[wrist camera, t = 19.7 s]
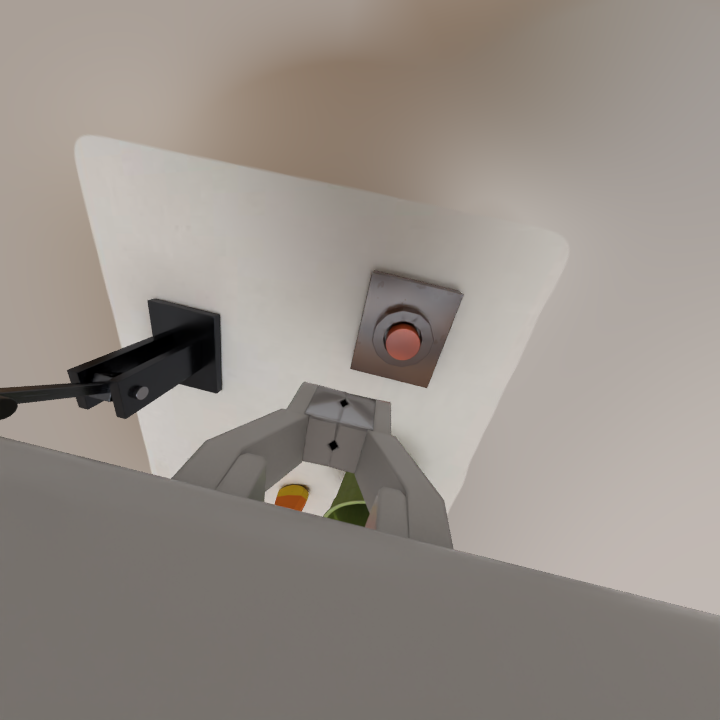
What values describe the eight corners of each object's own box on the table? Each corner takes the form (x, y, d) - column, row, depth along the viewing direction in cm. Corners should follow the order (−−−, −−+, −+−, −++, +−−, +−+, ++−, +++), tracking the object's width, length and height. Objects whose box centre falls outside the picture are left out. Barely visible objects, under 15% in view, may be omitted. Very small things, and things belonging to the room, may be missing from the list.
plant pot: (362, 496, 45) (353, 570, 35) (323, 450, 42) (301, 517, 32) (423, 476, 42) (433, 551, 31) (386, 423, 38) (384, 489, 28)
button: (390, 320, 28) (390, 324, 26) (423, 328, 28) (425, 333, 26) (382, 349, 29) (381, 355, 28) (413, 357, 29) (414, 363, 28)
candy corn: (283, 495, 48) (263, 541, 41) (277, 484, 47) (256, 528, 39) (312, 494, 47) (298, 540, 39) (308, 482, 46) (292, 528, 38)
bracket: (154, 298, 34) (32, 327, 23) (220, 314, 34) (130, 352, 22) (165, 375, 39) (70, 430, 28) (221, 389, 39) (150, 451, 28)
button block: (373, 269, 29) (370, 273, 26) (459, 290, 29) (468, 297, 26) (352, 361, 34) (347, 375, 31) (425, 379, 34) (428, 395, 31)
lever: (-85, 372, 16) (-95, 410, 16) (-9, 392, 16) (-19, 430, 16) (108, 368, 28) (103, 390, 28) (152, 380, 28) (146, 401, 28)
